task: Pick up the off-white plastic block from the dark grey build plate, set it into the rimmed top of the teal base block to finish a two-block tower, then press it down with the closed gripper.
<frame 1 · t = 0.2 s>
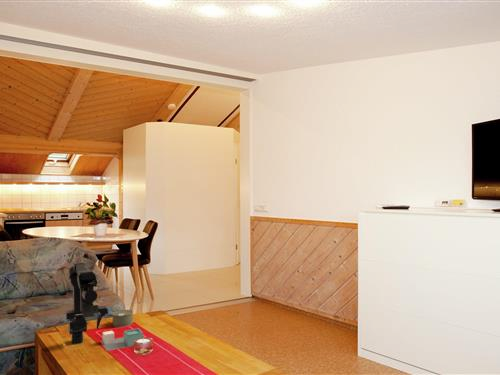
hand: (87, 330, 212), 14 cm above the table, tool pointing down, fingers open, 9 cm apart
off-white block: (108, 342, 234), point 1 cm above the table, touching build plate
can: (122, 324, 269), on the table
build plate: (122, 344, 233), on the table
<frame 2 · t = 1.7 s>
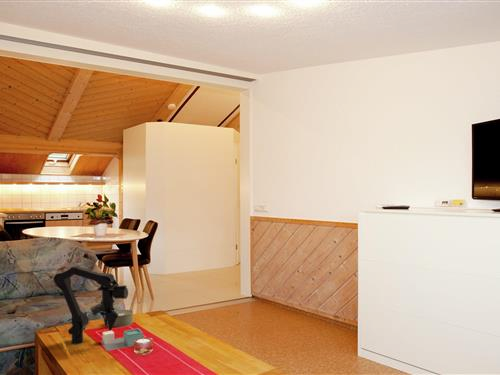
hand: (108, 327, 234), 9 cm above the table, tool pointing down, fingers open, 9 cm apart
nothing on the table moved.
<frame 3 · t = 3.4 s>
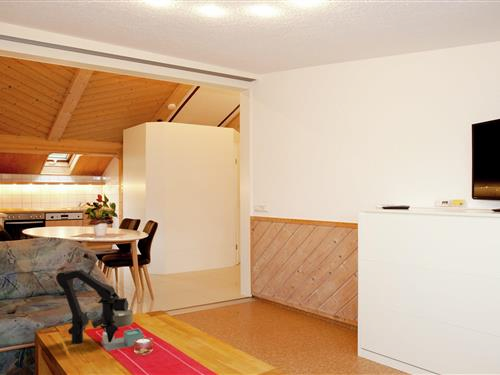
hand: (108, 340, 234), 2 cm above the table, tool pointing down, fingers closed on off-white block, 5 cm apart
off-white block: (108, 342, 234), point 1 cm above the table, touching build plate, gripper
everything else where it was.
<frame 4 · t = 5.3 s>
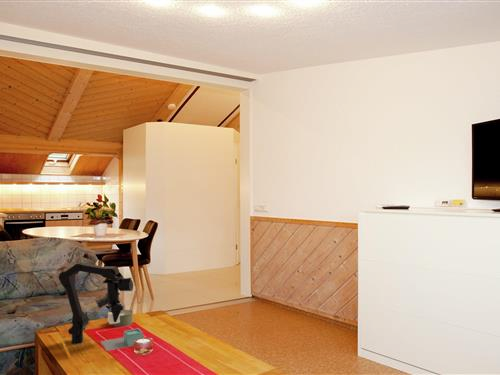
hand: (113, 320, 234), 12 cm above the table, tool pointing down, fingers closed on off-white block, 5 cm apart
off-white block: (114, 322, 234), point 12 cm above the table, touching gripper
everything else where it was.
when the fingers open (8 cm above the table, at t = 7.6 s): off-white block drops 1 cm, resting on build plate.
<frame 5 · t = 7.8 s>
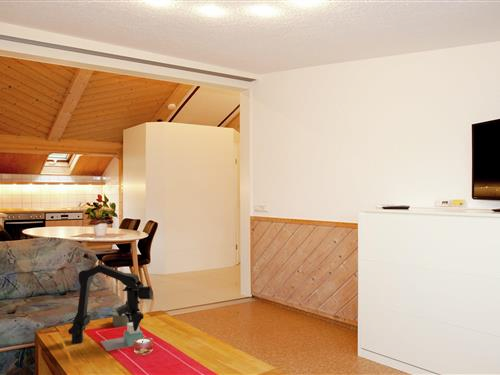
hand: (133, 328, 233), 8 cm above the table, tool pointing down, fingers open, 7 cm apart
off-white block: (133, 333, 233), point 6 cm above the table, touching build plate
everything else where it was.
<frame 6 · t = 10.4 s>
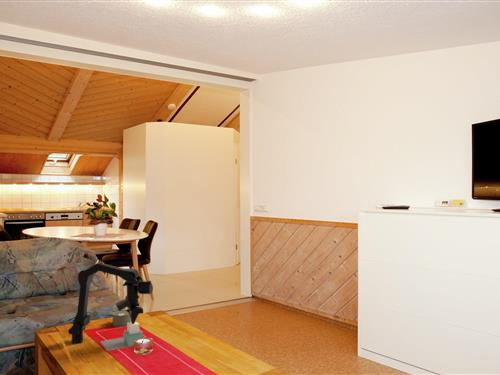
hand: (133, 323, 233), 11 cm above the table, tool pointing down, fingers closed, pressing on off-white block
off-white block: (133, 333, 233), point 6 cm above the table, touching build plate, gripper
everything else where it was.
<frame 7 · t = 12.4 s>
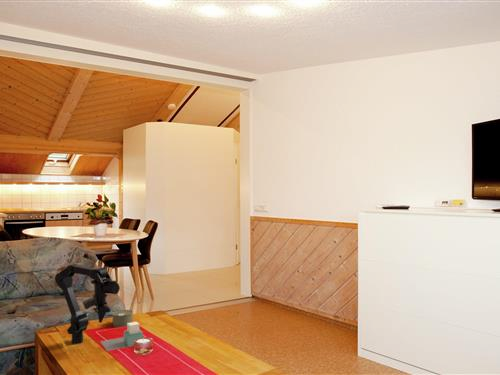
hand: (100, 322, 230), 13 cm above the table, tool pointing down, fingers closed
off-white block: (133, 333, 233), point 6 cm above the table, touching build plate
everything else where it was.
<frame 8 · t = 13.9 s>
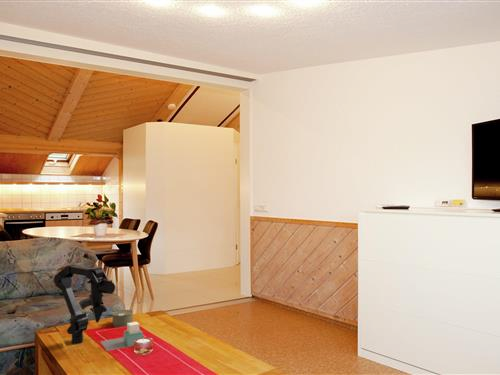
hand: (97, 322, 229), 13 cm above the table, tool pointing down, fingers closed
nothing on the table moved.
at the end: off-white block 0.0 cm from the target spot on the build plate, point 6.0 cm above the build plate's base; off-white block tilted 0°; the gripper is holding nothing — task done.
